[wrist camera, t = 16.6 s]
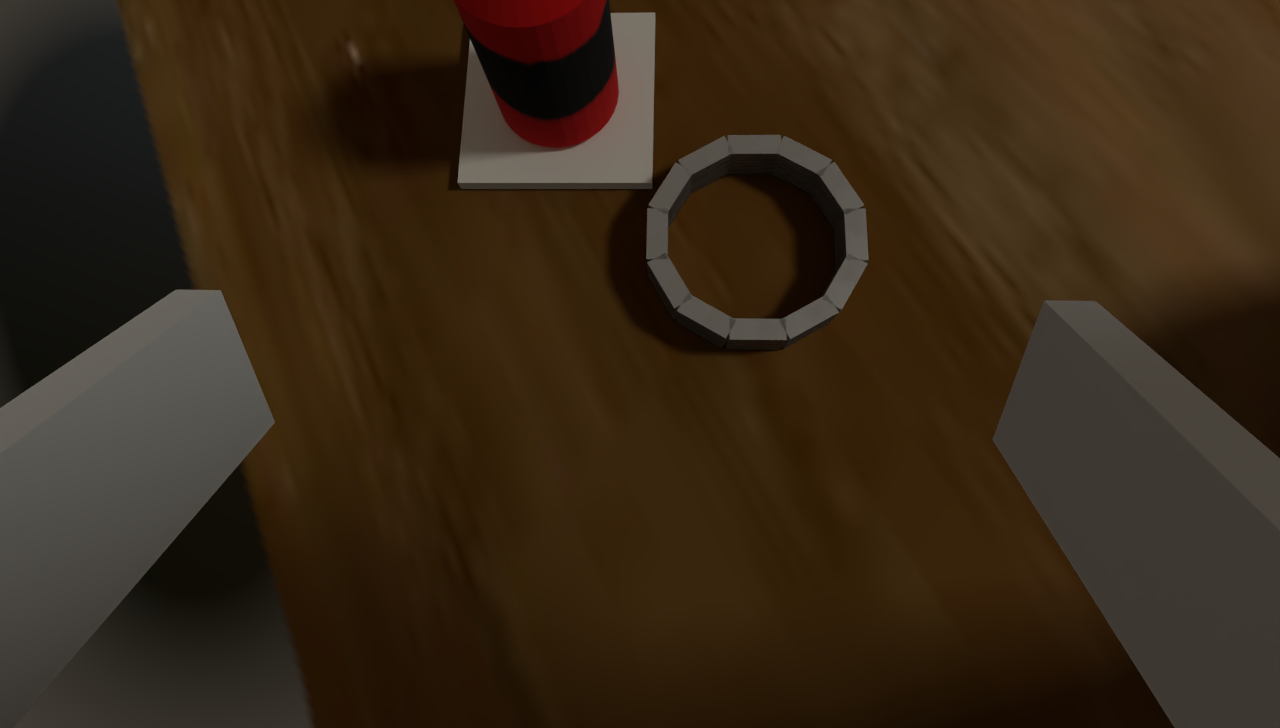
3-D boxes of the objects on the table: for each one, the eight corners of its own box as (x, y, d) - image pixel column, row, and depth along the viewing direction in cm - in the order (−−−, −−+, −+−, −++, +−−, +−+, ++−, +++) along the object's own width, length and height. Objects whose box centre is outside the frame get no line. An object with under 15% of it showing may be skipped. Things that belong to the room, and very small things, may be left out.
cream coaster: (655, 21, 42) (655, 12, 41) (652, 189, 40) (651, 182, 39) (475, 23, 43) (472, 14, 42) (461, 189, 40) (457, 182, 39)
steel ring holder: (849, 156, 40) (861, 134, 37) (860, 351, 37) (873, 340, 35) (649, 156, 40) (648, 135, 38) (646, 348, 38) (644, 338, 35)
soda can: (531, 29, 42) (479, -156, 30) (638, 67, 41) (628, -108, 29) (479, 126, 40) (403, -28, 28) (589, 168, 39) (557, 27, 28)
